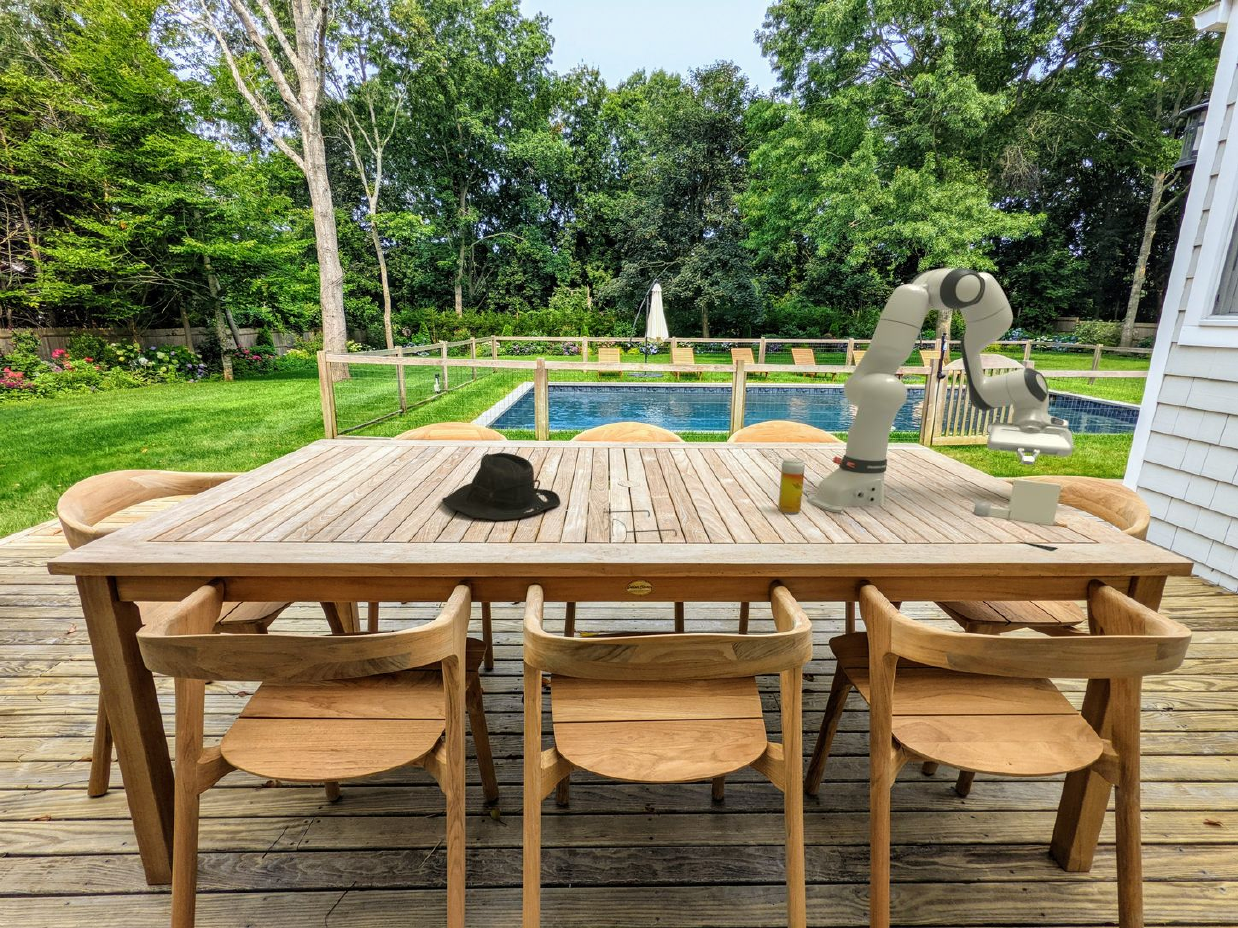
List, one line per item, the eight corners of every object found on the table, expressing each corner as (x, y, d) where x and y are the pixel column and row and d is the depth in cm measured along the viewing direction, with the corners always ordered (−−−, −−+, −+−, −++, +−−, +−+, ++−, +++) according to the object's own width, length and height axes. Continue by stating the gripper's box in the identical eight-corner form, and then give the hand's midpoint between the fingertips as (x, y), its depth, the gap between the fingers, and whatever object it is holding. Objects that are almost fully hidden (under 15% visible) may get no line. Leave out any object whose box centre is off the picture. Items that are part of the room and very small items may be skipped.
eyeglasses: (598, 524, 146) (598, 505, 145) (649, 517, 152) (650, 500, 151) (621, 545, 132) (621, 525, 131) (677, 537, 138) (677, 518, 136)
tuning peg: (973, 514, 154) (980, 476, 152) (973, 511, 157) (979, 473, 155) (1068, 528, 144) (1076, 488, 142) (1065, 524, 147) (1074, 484, 145)
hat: (527, 482, 185) (526, 440, 182) (578, 511, 156) (578, 462, 153) (429, 495, 168) (426, 449, 165) (465, 531, 139) (463, 475, 136)
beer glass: (801, 515, 155) (806, 463, 152) (778, 513, 156) (783, 461, 153) (798, 509, 161) (803, 458, 157) (777, 507, 162) (781, 457, 158)
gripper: (989, 415, 167) (986, 452, 161) (1075, 421, 157) (1075, 461, 151) (986, 428, 172) (982, 464, 166) (1069, 434, 162) (1068, 474, 156)
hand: (1027, 463), depth 158 cm, fingers closed
